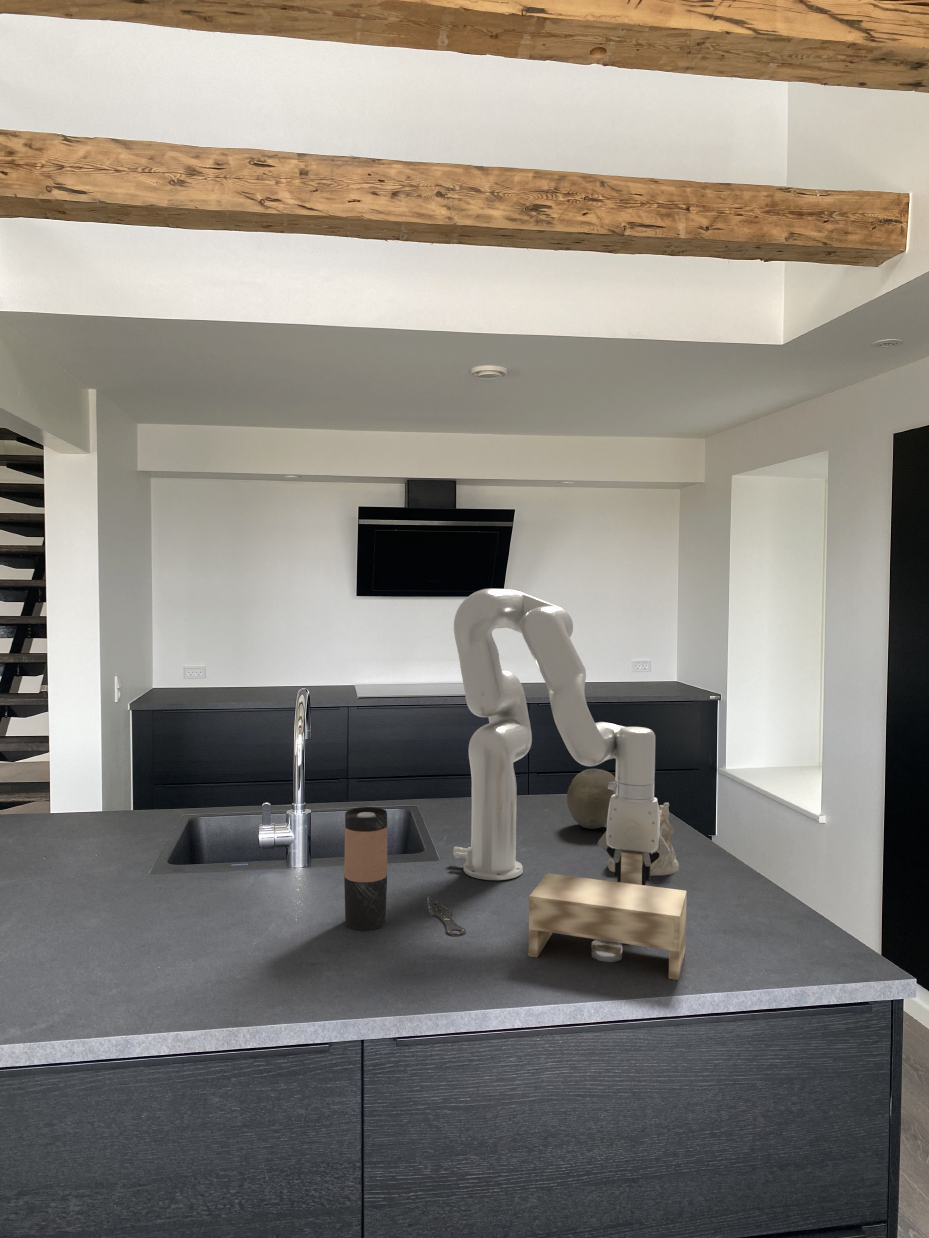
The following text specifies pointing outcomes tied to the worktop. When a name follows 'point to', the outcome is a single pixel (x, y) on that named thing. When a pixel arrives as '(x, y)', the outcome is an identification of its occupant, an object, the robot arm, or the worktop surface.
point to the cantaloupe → (590, 797)
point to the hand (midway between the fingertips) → (632, 881)
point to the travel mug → (365, 868)
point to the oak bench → (609, 914)
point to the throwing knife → (447, 913)
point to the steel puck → (606, 950)
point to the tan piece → (631, 867)
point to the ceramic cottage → (667, 861)
